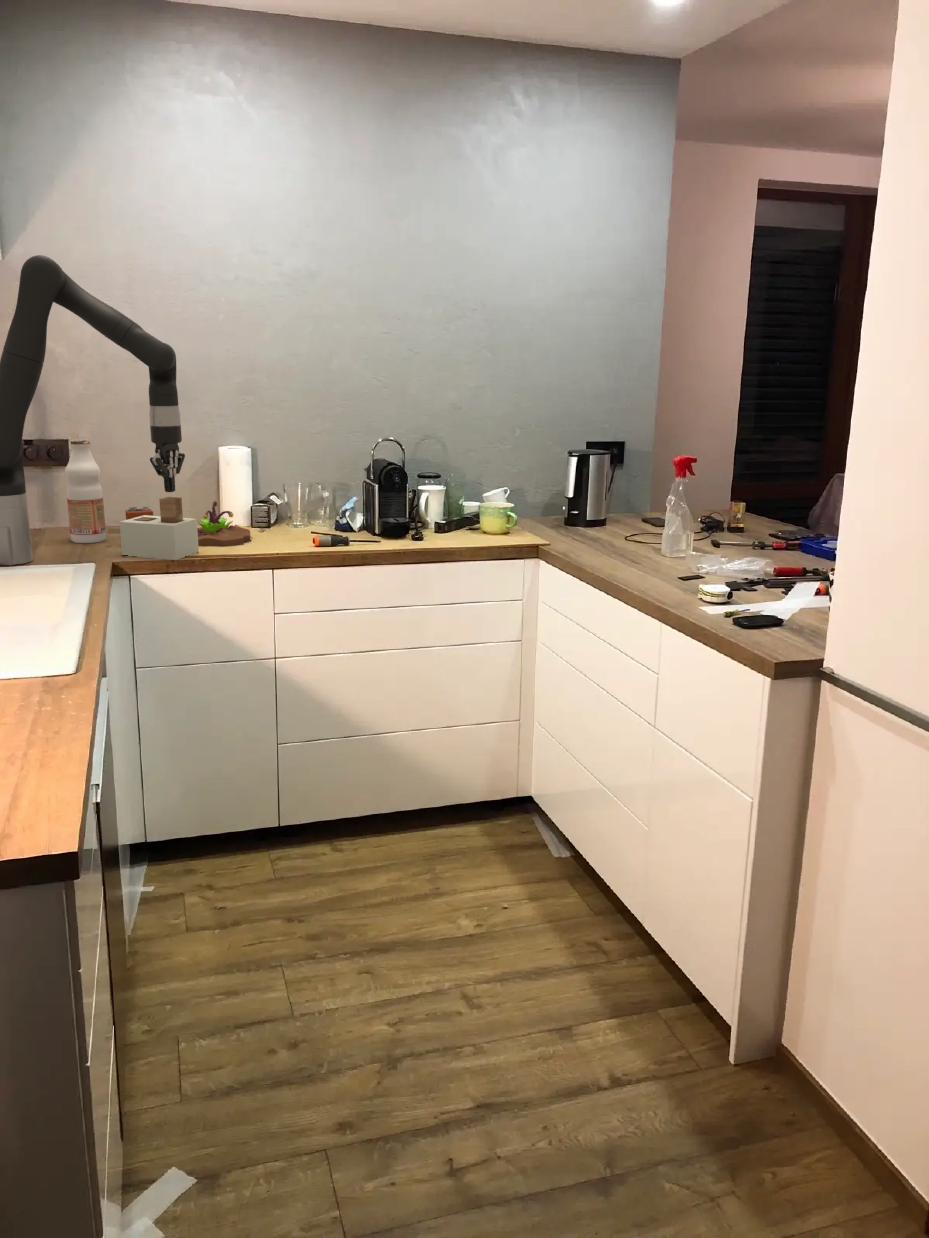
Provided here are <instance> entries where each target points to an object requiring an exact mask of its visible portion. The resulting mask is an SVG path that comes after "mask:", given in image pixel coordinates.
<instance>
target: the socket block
mask: <svg viewBox="0 0 929 1238" xmlns="http://www.w3.org/2000/svg"><path fill="white" fill-rule="evenodd" d="M141 517H151V518H156V519H155V520H152V521H135V520H134V519H137V518H141ZM197 522H198V519H197V518H189V517H183V521H182V522H178V523H163V522H161V516H160V515H159V516H158V515H153V516H148V515H143V516H140V517H136V518H132V519H128V520H126V519H125V520H121V521H119V532H120V533H119V534H120V543H121V544H120V545H121V556H122V555H128V556H127V557H131V556H137V557H136V558H144V559H145V558H146V559H157V560H167V561H169V560H170V561H178V560H180V559H184V558H186V557H185V556H187V555H189V556H192V555H195V554H197V552H198V553H199V552H200V550H199V549H200V547H199V546H198V530H197V528H198V523H197ZM194 553H195V554H194ZM191 554H192V555H191ZM187 557H188V556H187Z"/></svg>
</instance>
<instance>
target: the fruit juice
mask: <svg viewBox="0 0 929 1238" xmlns="http://www.w3.org/2000/svg"><path fill="white" fill-rule="evenodd" d="M90 444H91V441H90V439H87V438H85V439H84V438H77V439H76V438H75V439H70V446H71V448H72V449H71V453H70V456H69V460H68V462H67V465H66V467H65V471H64V475H65V478H66V480H67V487H66V502H67V514H68V522H69V523H68V525H69V536H70V540H71V542H73V543H76V544H95V543H100V542H104V541H106V539H107V530H106V517H105V507H104V506H105V504H104V493H103V487H102V486H101V483H100V479H101V469H100V467H99V465H98V464H97V462H96V460H95V459H94V456H93V454H92V452H91V449H90V446H91V445H90Z"/></svg>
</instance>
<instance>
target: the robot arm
mask: <svg viewBox="0 0 929 1238" xmlns="http://www.w3.org/2000/svg"><path fill="white" fill-rule="evenodd" d="M54 303H55V304H56V305H59V306H61V307H62V308H64V309H66V310H68V311H69V312H71V313H72V314H74V315H76V316H77V317H78V318H80V319H81V320H83V321H84V322H86V323H87V324H88V325H89V326H90V327H92V328H93V329H94V330H95V331H97V332H98V333H100V334H101V335H102V336H104V337H105V338H106V339H108V340H110V341H111V342H113V343H114V344H116V345H117V346H119V347H120V348H122V349H123V350H125V351H127V352H128V353H130V354H132V355H133V356H134V357H135V358H137V359H138V360H139V361H140V362H141V363H142V364H144V365H146V366H147V367H148V376H149V384H148V400H149V402H148V403H149V412H148V414H149V415H148V417H149V429H150V430H149V431H150V441H151V443H153V444H154V445H155V449H154V453H155V454H154V457H152V456H151V457H150V458H149V461H150V463H151V465H152V467H153V469H154V470H155V472H156V474H157V476H160V477H162V478H163V486H164V492H166V493H173V492H176V479H175V478H176V477H177V474H178V475H179V474H180V473H181V470H182V467H183V463H184V461H185V458H186V454H185V453H182V452H181V451H180V447H179V443H181V442H182V441H183V437H182V423H181V412H180V408H179V396H178V393H179V392H178V386H177V356H176V352H175V350H174V348H173V347H172V346H171V345H169V344H168V343H166V342H163V341H161V340H159V339H158V338H157V337H155V336H154V335H152V334H151V333H148V332H147V331H146V330H145V329H144V328H143V327H142V326H140V325H139V324H138V323H137V322H135V321H134V320H133V319H131V318H130V317H128V316H126V315H125V314H124V313H122V312H120V311H119V310H118V309H115V308H114V307H113V306H111V305H110V304H107V303H105V302H104V301H103V300H100V299H98V298H97V297H96V296H94V295H92V294H91V293H90V292H88V291H87V290H85V289H84V288H83V287H81V286H80V285H79V284H78V283H76V281H74V280H73V278H71V276H69V275H68V274H67V273H66V272H65V271H64V270H63V269H62V267H61V266H60V265H59V263H57V262H56V261H55V260H54V259H52V258H51V257H48V256H46V255H42V254H41V255H40V254H38V255H34V256H30V257H29V258H28V259H26V260H25V262H24V263H23V265H22V266H21V270H20V276H19V285H18V292H17V300H16V305H15V311H14V313H13V317H12V319H11V322H10V326H9V328H8V332H7V335H6V338H5V343H4V345H3V348H2V352H1V357H0V565H3V566H4V565H5V566H14V565H21V564H26V563H29V562H30V563H31V562H32V561H34V558H33V557H34V555H33V546H32V537H31V536H32V535H31V528H30V518H29V511H28V498H27V487H26V477H25V469H24V460H23V459H24V458H23V457H24V456H23V449H22V443H23V435H24V429H25V422H26V418H27V415H28V411H29V408H30V406H31V403H32V401H33V399H34V397H35V394H36V391H37V388H38V385H39V382H40V379H41V375H42V371H43V367H44V362H45V357H46V351H47V350H46V349H47V337H48V336H47V334H48V333H47V332H48V331H47V330H48V322H49V321H48V320H49V316H50V314H51V313H50V312H51V310H52V307H53V304H54Z"/></svg>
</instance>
